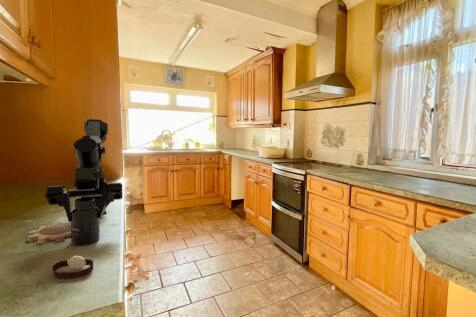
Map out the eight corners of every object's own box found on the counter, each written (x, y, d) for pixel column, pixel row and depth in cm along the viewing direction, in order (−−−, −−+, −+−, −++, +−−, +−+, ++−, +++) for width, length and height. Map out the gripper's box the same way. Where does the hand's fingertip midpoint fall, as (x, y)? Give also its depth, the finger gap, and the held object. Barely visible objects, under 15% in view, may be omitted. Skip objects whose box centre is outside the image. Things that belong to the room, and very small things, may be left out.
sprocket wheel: (28, 230, 74) (28, 226, 74) (83, 221, 83) (83, 217, 83) (26, 248, 63) (26, 242, 62) (90, 235, 72) (90, 230, 72)
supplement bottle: (66, 247, 63) (65, 202, 62) (76, 237, 70) (75, 196, 69) (96, 245, 65) (94, 201, 64) (102, 235, 72) (102, 195, 71)
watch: (97, 267, 55) (97, 251, 54) (88, 279, 50) (87, 262, 50) (59, 269, 54) (59, 253, 53) (46, 281, 49) (46, 264, 49)
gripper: (45, 157, 65) (33, 208, 56) (121, 156, 73) (122, 200, 64) (53, 180, 73) (44, 229, 64) (122, 177, 81) (122, 220, 72)
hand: (84, 219), depth 66 cm, fingers closed on supplement bottle, 7 cm apart
